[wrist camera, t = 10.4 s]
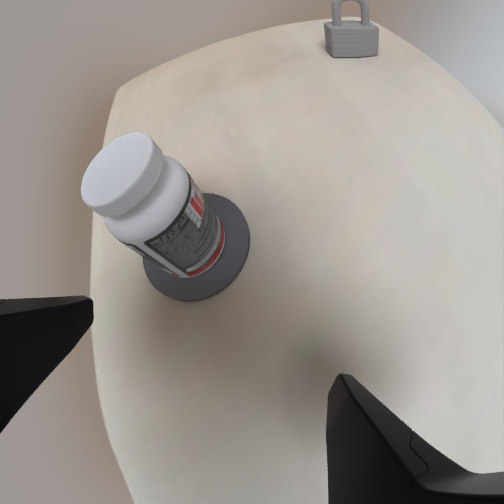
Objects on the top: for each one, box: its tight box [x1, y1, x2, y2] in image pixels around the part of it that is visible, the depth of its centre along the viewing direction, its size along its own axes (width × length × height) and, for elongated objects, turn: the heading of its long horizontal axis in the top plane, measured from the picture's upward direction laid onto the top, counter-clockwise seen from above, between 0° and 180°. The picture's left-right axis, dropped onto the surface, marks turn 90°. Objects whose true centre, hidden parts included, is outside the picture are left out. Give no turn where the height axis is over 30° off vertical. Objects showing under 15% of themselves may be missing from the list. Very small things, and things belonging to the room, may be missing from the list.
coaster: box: [143, 193, 250, 302], centre depth 21 cm, size 9×9×1 cm
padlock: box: [324, 0, 379, 58], centre depth 24 cm, size 7×4×10 cm, turn 99°
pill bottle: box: [81, 132, 225, 278], centre depth 16 cm, size 6×6×10 cm
